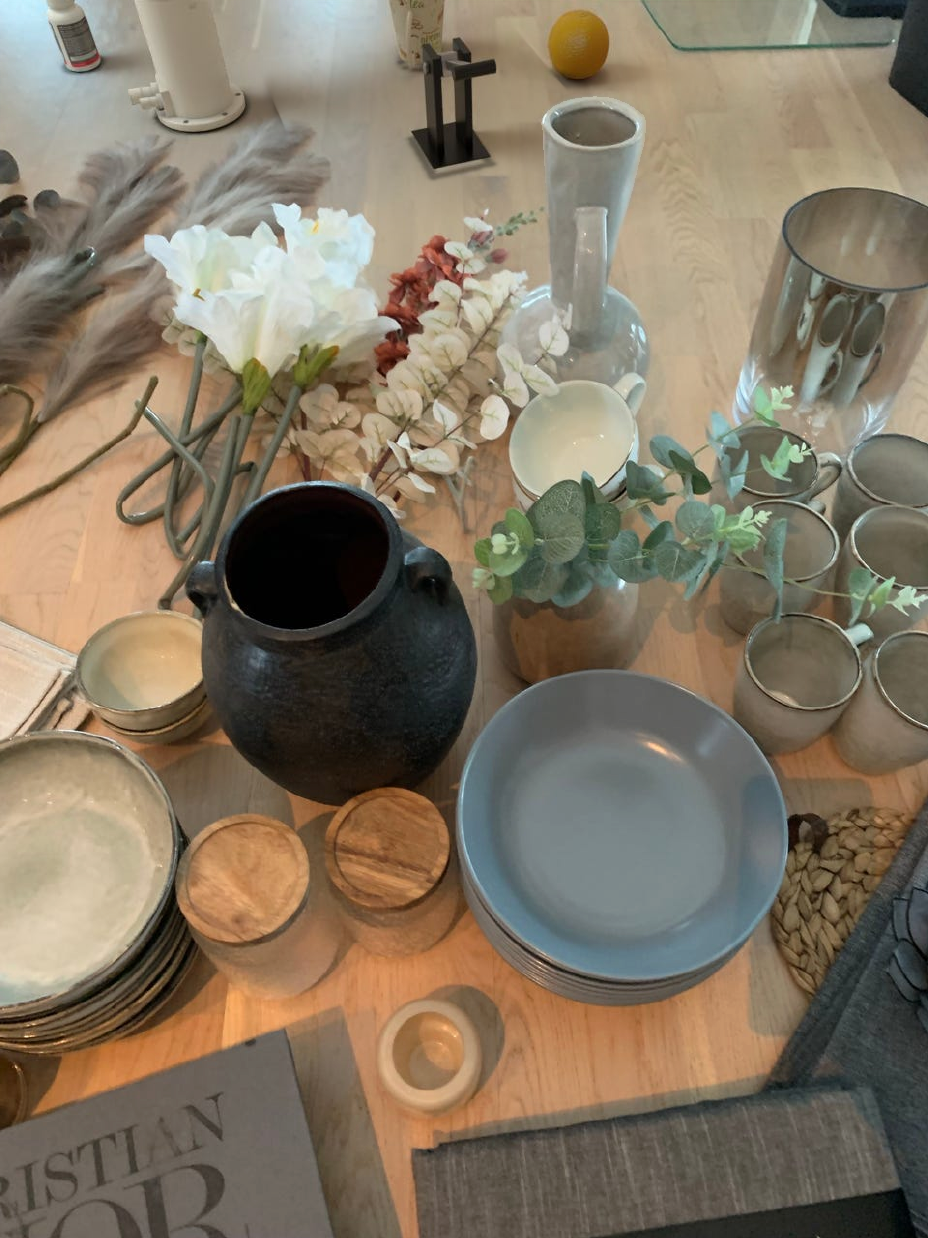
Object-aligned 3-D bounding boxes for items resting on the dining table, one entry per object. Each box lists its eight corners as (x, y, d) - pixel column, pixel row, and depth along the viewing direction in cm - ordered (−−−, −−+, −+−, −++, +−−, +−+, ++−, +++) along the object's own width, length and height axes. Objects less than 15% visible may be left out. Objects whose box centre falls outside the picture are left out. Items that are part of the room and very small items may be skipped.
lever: (497, 78, 100) (495, 53, 98) (456, 86, 99) (453, 62, 97) (463, 70, 110) (461, 48, 108) (426, 77, 109) (423, 55, 107)
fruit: (595, 57, 130) (600, -4, 123) (614, 82, 126) (620, 21, 119) (539, 66, 129) (542, 5, 122) (556, 92, 125) (560, 30, 118)
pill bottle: (108, 59, 134) (83, -14, 126) (87, 75, 131) (60, 1, 123) (80, 53, 135) (53, -19, 127) (59, 69, 132) (30, -4, 124)
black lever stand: (490, 164, 115) (490, 60, 104) (434, 176, 113) (427, 72, 103) (466, 127, 120) (463, 24, 109) (411, 139, 119) (403, 36, 108)
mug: (450, 48, 133) (448, -28, 124) (441, 89, 126) (438, 11, 118) (397, 47, 133) (391, -29, 125) (385, 87, 127) (378, 10, 118)
